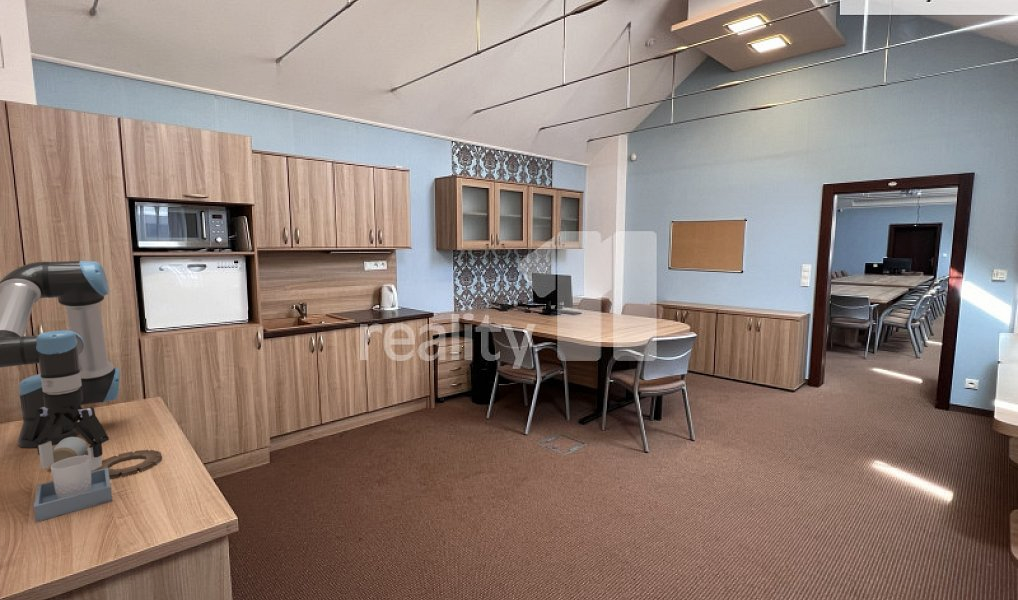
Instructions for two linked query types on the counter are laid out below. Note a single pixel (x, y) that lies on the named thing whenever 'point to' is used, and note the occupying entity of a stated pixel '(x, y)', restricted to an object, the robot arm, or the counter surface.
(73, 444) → the ceramic mug
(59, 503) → the bin
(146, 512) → the counter surface
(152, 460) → the holder ring
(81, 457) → the white cup
